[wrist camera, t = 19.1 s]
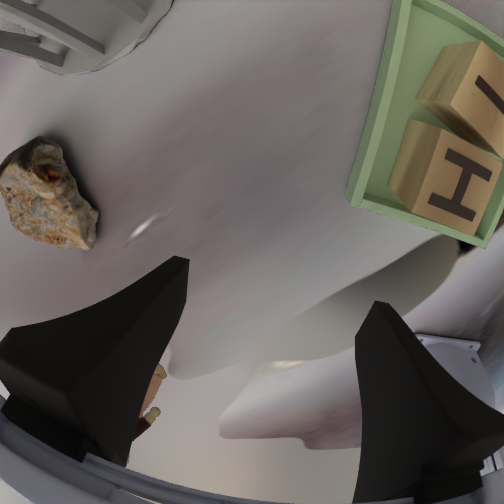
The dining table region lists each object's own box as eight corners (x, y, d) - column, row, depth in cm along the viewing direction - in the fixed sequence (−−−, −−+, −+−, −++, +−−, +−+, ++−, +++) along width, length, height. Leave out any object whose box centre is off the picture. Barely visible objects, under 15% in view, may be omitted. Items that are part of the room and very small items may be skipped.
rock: (11, 159, 19) (36, 263, 22) (-31, 162, 14) (1, 287, 17) (86, 123, 20) (113, 241, 23) (49, 114, 14) (83, 264, 17)
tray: (523, 69, 11) (540, 70, 9) (473, 236, 18) (485, 249, 16) (393, -9, 11) (404, -18, 9) (344, 193, 18) (349, 205, 16)
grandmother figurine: (153, 351, 28) (107, 458, 18) (180, 373, 30) (144, 477, 19) (118, 369, 31) (76, 455, 21) (142, 387, 33) (107, 473, 22)
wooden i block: (490, 91, 12) (534, 98, 8) (464, 142, 15) (504, 160, 11) (443, 46, 12) (483, 39, 8) (414, 99, 14) (450, 104, 10)
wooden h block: (464, 145, 15) (504, 164, 11) (441, 205, 17) (474, 237, 13) (408, 117, 15) (443, 128, 11) (386, 184, 17) (412, 213, 13)
